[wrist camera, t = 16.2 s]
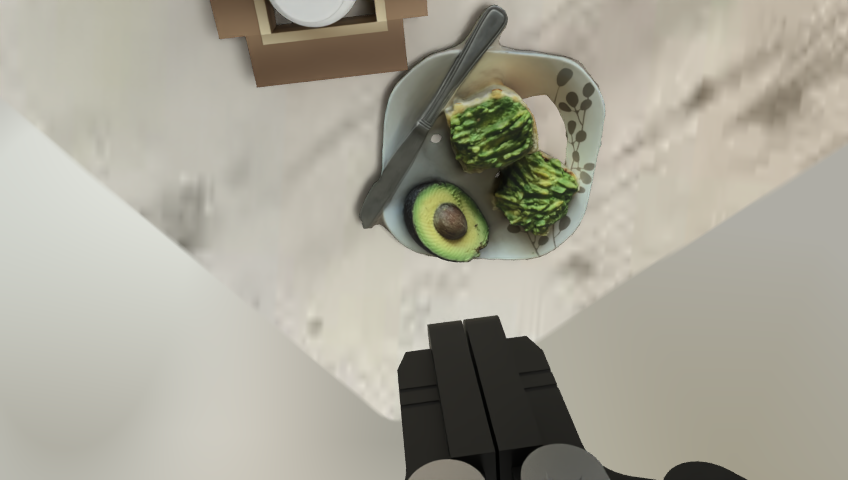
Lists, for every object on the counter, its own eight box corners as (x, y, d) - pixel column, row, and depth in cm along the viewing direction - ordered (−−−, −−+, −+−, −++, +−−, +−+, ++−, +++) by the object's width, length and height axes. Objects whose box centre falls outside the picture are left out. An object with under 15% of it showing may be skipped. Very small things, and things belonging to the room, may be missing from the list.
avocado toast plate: (373, -11, 40) (374, -2, 36) (627, 16, 43) (655, 27, 39) (356, 244, 49) (356, 274, 45) (567, 255, 52) (585, 284, 48)
